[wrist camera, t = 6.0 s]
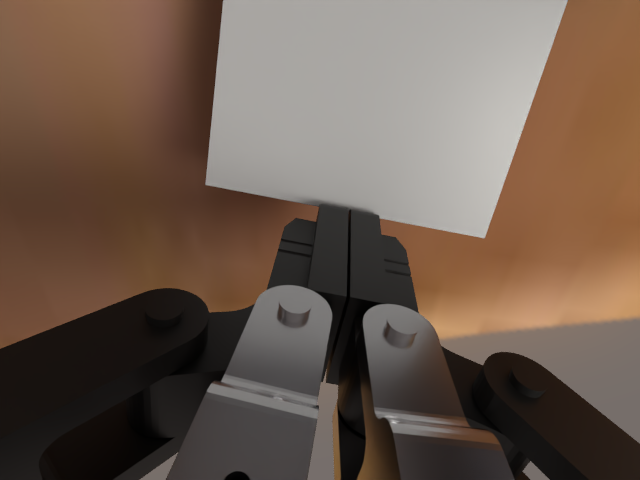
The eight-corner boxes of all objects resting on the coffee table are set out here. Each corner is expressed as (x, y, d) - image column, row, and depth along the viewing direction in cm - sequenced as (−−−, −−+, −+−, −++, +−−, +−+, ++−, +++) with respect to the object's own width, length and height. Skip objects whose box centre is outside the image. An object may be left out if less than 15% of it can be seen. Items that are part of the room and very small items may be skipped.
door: (247, -252, 7) (205, 184, 10) (625, -164, 8) (484, 237, 11) (259, -202, 9) (219, 172, 12) (582, -128, 9) (467, 221, 12)
